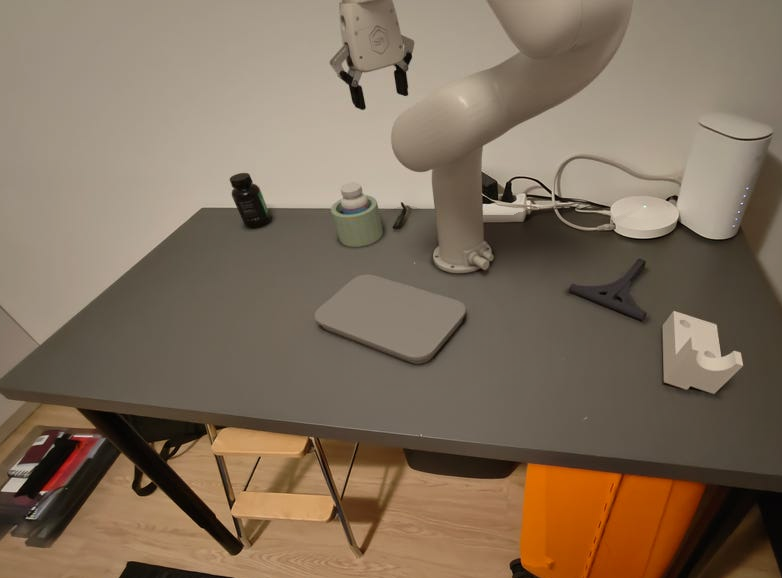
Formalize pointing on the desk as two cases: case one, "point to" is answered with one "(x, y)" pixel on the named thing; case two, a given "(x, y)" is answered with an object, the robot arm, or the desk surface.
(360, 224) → the green cylindrical sleeve
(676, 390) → the desk surface
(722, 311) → the desk surface
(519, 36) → the robot arm
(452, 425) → the desk surface
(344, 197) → the pill bottle
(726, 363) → the bracket
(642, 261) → the bracket
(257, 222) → the supplement bottle
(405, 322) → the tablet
